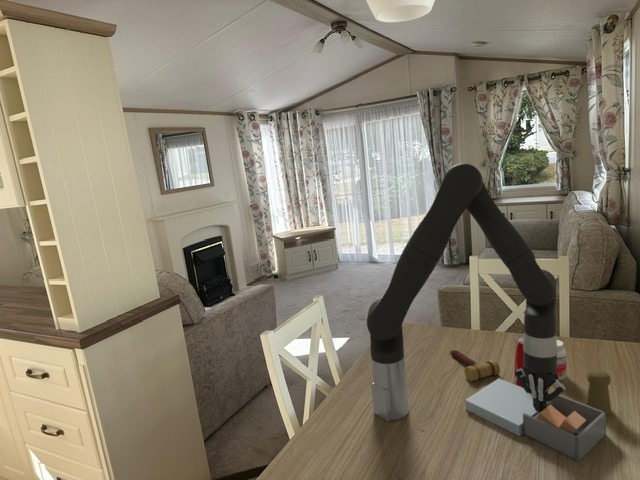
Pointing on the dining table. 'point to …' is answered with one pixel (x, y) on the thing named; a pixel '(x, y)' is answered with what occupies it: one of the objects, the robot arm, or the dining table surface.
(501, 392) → the board
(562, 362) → the pill bottle
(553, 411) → the peach foam cube
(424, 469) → the dining table surface
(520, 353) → the beverage can
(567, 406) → the box
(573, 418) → the peach block
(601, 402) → the olive pepper mill
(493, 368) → the gavel
